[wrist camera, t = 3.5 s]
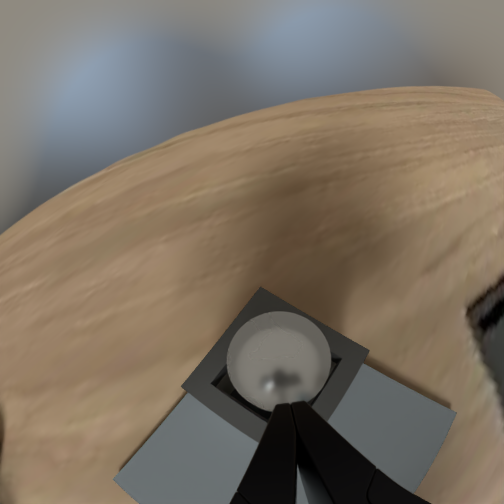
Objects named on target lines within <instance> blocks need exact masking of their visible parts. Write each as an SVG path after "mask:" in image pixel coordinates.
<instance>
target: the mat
mask: <svg viewBox="0 0 504 504" xmlns="http://www.w3.org/2000/svg"><path fill="white" fill-rule="evenodd" d="M230 395H231V396H233V397H234V398H235V399H237V400H238V401H240V402H241V403H243V404H244V405H246V406H247V407H248V408H250V409H251V410H253V411H255V412H256V413H258V414H259V415H261V416H262V417H264V418H265V419H267V420H268V421H269V419H270V416H271V414H272V412H268V411H265V410H262V409H260V408H258V407H256V406H255V405H253V404H252V403H250V402H249V401H247V400H246V399H245V398H243V397H242V396H241V395H240V394H239V393H238V391H237V390H236V389H234V390H233V391H232V393H231V394H230ZM455 416H456V412H454V411H452V410H450V409H448V408H446V407H444V406H442V405H440V404H438V403H436V402H435V401H433V400H431V399H429V398H427V397H425V396H423V395H421V394H419V393H417V392H415V391H413V390H411V389H410V388H408V387H406V386H404V385H402V384H400V383H398V382H396V381H395V380H393V379H391V378H389V377H387V376H385V375H384V374H382V373H380V372H378V371H376V370H374V369H373V368H371V367H369V366H367V365H365V364H364V363H363V364H362V366H361V368H360V369H359V371H358V373H357V375H356V376H355V378H354V380H353V382H352V383H351V385H350V387H349V388H348V390H347V392H346V393H345V395H344V397H343V398H342V400H341V401H340V403H339V405H338V406H337V408H336V409H335V411H334V412H333V414H332V415H331V417H330V418H329V420H328V421H327V422H328V423H329V424H330V425H331V426H332V427H333V428H334V429H335V430H336V431H337V432H338V433H339V434H340V435H341V436H343V437H344V438H345V439H346V440H347V441H348V442H349V443H350V444H351V445H352V446H354V447H355V448H356V449H357V450H358V451H359V452H360V453H361V454H363V455H364V456H365V457H366V458H367V459H368V460H369V461H370V462H372V463H373V464H374V465H375V466H376V469H377V468H379V469H380V470H381V471H382V472H384V473H385V474H386V475H387V476H388V477H390V478H391V479H392V480H394V481H395V482H396V483H398V484H399V485H400V486H402V487H403V488H405V489H407V490H408V491H410V492H411V493H413V494H414V492H415V491H416V489H417V488H418V486H419V485H420V483H421V481H422V480H423V478H424V476H425V475H426V473H427V471H428V470H429V468H430V466H431V465H432V463H433V461H434V459H435V457H436V455H437V454H438V452H439V450H440V448H441V446H442V444H443V442H444V440H445V438H446V436H447V434H448V431H449V429H450V427H451V425H452V423H453V420H454V418H455ZM258 444H259V443H258V442H256V441H255V440H253V439H251V438H250V437H248V436H247V435H245V434H244V433H242V432H241V431H239V430H238V429H236V428H235V427H233V426H232V425H231V424H229V423H228V422H226V421H225V420H224V419H222V418H221V417H219V416H218V415H217V414H215V413H214V412H213V411H211V410H210V409H209V408H207V407H206V406H205V405H203V404H202V403H201V402H199V401H198V400H197V399H196V398H194V397H193V396H192V395H191V394H189V393H187V394H186V395H185V397H184V398H183V399H182V400H181V401H180V403H179V404H178V405H177V406H176V407H175V409H174V410H173V411H172V412H171V413H170V414H169V416H168V417H167V418H166V419H165V420H164V422H163V423H162V424H161V425H160V426H159V427H158V429H157V430H156V431H155V432H154V433H153V434H152V436H151V437H150V438H149V439H148V440H147V441H146V442H145V444H144V445H143V446H142V447H141V448H140V449H139V450H138V452H137V453H136V454H135V455H134V456H133V457H132V458H131V460H130V461H129V462H128V463H127V464H126V465H125V466H124V467H123V468H122V470H121V471H120V472H119V473H118V474H117V475H116V476H115V477H114V478H113V480H114V481H115V482H116V483H117V484H118V485H119V486H120V487H121V488H122V489H123V490H124V491H125V492H126V493H128V494H129V495H130V496H131V497H132V498H133V499H134V500H135V501H137V502H138V503H139V504H229V503H230V501H231V499H232V497H233V495H234V493H235V492H237V488H238V486H239V484H240V482H241V480H242V478H243V476H244V474H245V472H246V470H247V467H248V465H249V463H250V461H251V459H252V457H253V455H254V453H255V450H256V448H257V446H258ZM297 504H309V503H308V500H307V497H306V494H305V491H304V487H303V484H302V481H301V477H300V474H299V470H298V466H297Z"/></svg>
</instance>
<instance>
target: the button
mask: <svg viewBox="0 0 504 504" xmlns="http://www.w3.org/2000/svg"><path fill="white" fill-rule="evenodd" d="M330 368H331V353H330V348H329V345H328V342H327V340H326V338H325V336H324V335H323V333H322V332H321V330H320V329H319V328H318V327H317V326H316V325H315V324H314V323H312V322H311V321H310V320H308V319H307V318H305V317H303V316H300V315H298V314H295V313H290V312H283V311H276V312H269V313H265V314H261V315H259V316H256V317H255V318H253V319H251V320H249V321H248V322H246V323H245V324H244V325H243V326H242V327H241V328H240V329H239V330H238V331H237V333H236V334H235V335H234V337H233V339H232V341H231V343H230V346H229V348H228V353H227V370H228V375H229V377H230V380H231V382H232V384H233V386H234V387H235V389H236V390H237V391H238V393H239V394H240V395H241V396H242V397H243V398H245V399H246V400H247V401H249V402H250V403H252V404H253V405H255V406H256V407H258V408H260V409H262V410H265V411H268V412H272V411H273V409H274V407H275V405H276V404H281V403H290V404H291V403H292V402H295V401H302V400H304V401H306V402H308V401H309V400H311V399H312V398H313V397H315V395H316V394H317V393H318V392H319V391H320V390H321V389H322V387H323V386H324V384H325V382H326V380H327V378H328V375H329V372H330Z"/></svg>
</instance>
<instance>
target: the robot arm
mask: <svg viewBox="0 0 504 504" xmlns="http://www.w3.org/2000/svg"><path fill="white" fill-rule="evenodd" d="M297 466H298V470H299V474H300V477H301V481H302V484H303V487H304V491H305V494H306V497H307V500H308V503H309V504H431V503H429V502H427V501H425V500H424V499H422V498H420V497H418V496H416V495H415V494H413V493H411V492H410V491H408V490H407V489H405V488H403V487H402V486H400V485H399V484H398V483H396V482H395V481H394V480H392V479H391V478H390V477H388V476H387V475H386V474H385V473H384V472H382V471H381V470H380V469H379V468H377V469H376V466H375V465H374V464H373V463H372V462H370V461H369V460H368V459H367V458H366V457H365V456H364V455H363V454H361V453H360V452H359V451H358V450H357V449H356V448H355V447H354V446H352V445H351V444H350V443H349V442H348V441H347V440H346V439H345V438H344V437H343V436H341V435H340V434H339V433H338V432H337V431H336V430H335V429H334V428H333V427H332V426H331V425H330V424H329V423H328V422H327V421H326V420H324V419H323V418H322V417H321V416H320V415H319V414H318V413H317V412H316V411H315V410H314V409H313V408H312V407H311V406H310V405H309V404H308V403H307V402H306V401H304V400H302V401H295V402H292V403H291V404H290V403H281V404H276V405H275V407H274V409H273V411H272V414H271V416H270V419H269V421H268V423H267V426H266V428H265V430H264V433H263V435H262V437H261V439H260V442H259V444H258V446H257V448H256V450H255V453H254V455H253V457H252V459H251V461H250V463H249V465H248V467H247V470H246V472H245V474H244V476H243V478H242V480H241V482H240V484H239V486H238V488H237V492H235V493H234V495H233V497H232V499H231V501H230V503H229V504H297Z"/></svg>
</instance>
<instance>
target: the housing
mask: <svg viewBox="0 0 504 504" xmlns="http://www.w3.org/2000/svg"><path fill="white" fill-rule="evenodd" d="M276 311H283V312H290V313H295V314H298V315H300V316H303V317H305V318H307V319H308V320H310V321H311V322H312V323H314V324H315V325H316V326H317V327H318V328H319V329H320V330H321V332H322V333H323V335H324V336H325V338H326V340H327V342H328V345H329V348H330V353H331V368H330V372H329V375H328V378H327V380H326V382H325V384H324V386H323V387H322V389H321V390H320V391H319V392H318V393H317V394H316V395H315V397H313V398H312V399H311V400H309V401H308V402H307V403H308V404H309V405H310V406H311V407H312V408H313V409H314V410H315V411H316V412H317V413H318V414H319V415H320V416H321V417H322V418H323V419H324V420H326V421H328V420H329V418H330V417H331V415H332V414H333V412H334V411H335V409H336V408H337V406H338V405H339V403H340V401H341V400H342V398H343V397H344V395H345V393H346V392H347V390H348V388H349V387H350V385H351V383H352V382H353V380H354V378H355V376H356V375H357V373H358V371H359V369H360V368H361V366H362V364H363V362H364V360H365V358H366V357H367V355H368V353H369V351H370V350H368V349H366V348H365V347H363V346H361V345H359V344H357V343H356V342H354V341H352V340H350V339H349V338H347V337H345V336H343V335H342V334H340V333H338V332H336V331H335V330H333V329H331V328H330V327H328V326H326V325H324V324H323V323H321V322H319V321H318V320H316V319H314V318H312V317H311V316H309V315H307V314H306V313H304V312H302V311H300V310H299V309H297V308H295V307H294V306H292V305H290V304H289V303H287V302H285V301H284V300H282V299H280V298H279V297H277V296H275V295H274V294H272V293H270V292H269V291H267V290H265V289H264V288H262V287H260V288H259V289H258V290H257V292H256V293H255V294H254V296H253V297H252V298H251V299H250V301H249V302H248V303H247V305H246V306H245V307H244V308H243V310H242V311H241V312H240V313H239V315H238V316H237V317H236V319H235V320H234V321H233V322H232V324H231V325H230V326H229V327H228V329H227V330H226V331H225V333H224V334H223V335H222V336H221V338H220V339H219V340H218V341H217V343H216V344H215V345H214V346H213V348H212V349H211V350H210V351H209V353H208V354H207V355H206V356H205V358H204V359H203V360H202V361H201V362H200V364H199V365H198V366H197V367H196V369H195V370H194V371H193V372H192V374H191V375H190V376H189V377H188V378H187V380H186V381H185V382H184V383H183V384H182V386H181V387H182V388H183V389H184V390H186V391H187V392H188V393H189V394H191V395H192V396H193V397H194V398H196V399H197V400H198V401H199V402H201V403H202V404H203V405H205V406H206V407H207V408H209V409H210V410H211V411H213V412H214V413H215V414H217V415H218V416H219V417H221V418H222V419H224V420H225V421H226V422H228V423H229V424H231V425H232V426H233V427H235V428H236V429H238V430H239V431H241V432H242V433H244V434H245V435H247V436H248V437H250V438H251V439H253V440H255V441H256V442H258V443H259V442H260V439H261V437H262V435H263V433H264V430H265V428H266V426H267V423H268V420H267V419H265V418H264V417H262V416H261V415H259V414H258V413H256V412H255V411H253V410H251V409H250V408H248V407H247V406H246V405H244V404H243V403H241V402H240V401H238V400H237V399H235V398H234V397H233V396H231V395H230V394H231V393H232V391H233V390H234V389H235V387H234V386H233V384H232V382H231V380H230V377H229V375H228V370H227V353H228V348H229V346H230V343H231V341H232V339H233V337H234V335H235V334H236V333H237V331H238V330H239V329H240V328H241V327H242V326H243V325H244V324H245V323H246V322H248V321H249V320H251V319H253V318H255V317H256V316H259V315H261V314H265V313H269V312H276Z"/></svg>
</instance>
